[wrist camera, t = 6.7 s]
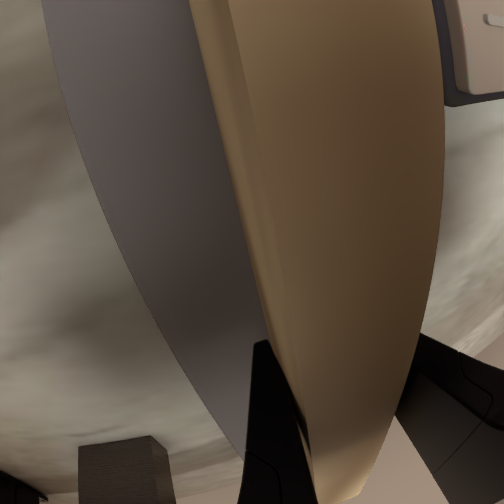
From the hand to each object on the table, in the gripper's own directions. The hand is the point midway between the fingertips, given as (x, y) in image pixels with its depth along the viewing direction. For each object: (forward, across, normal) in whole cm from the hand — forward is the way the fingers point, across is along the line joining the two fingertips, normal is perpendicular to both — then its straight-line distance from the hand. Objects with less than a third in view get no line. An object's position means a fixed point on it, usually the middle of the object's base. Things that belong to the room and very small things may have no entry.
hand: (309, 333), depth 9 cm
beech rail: (-1, 0, 0) cm, 1 cm away
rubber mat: (+3, 0, 0) cm, 3 cm away
